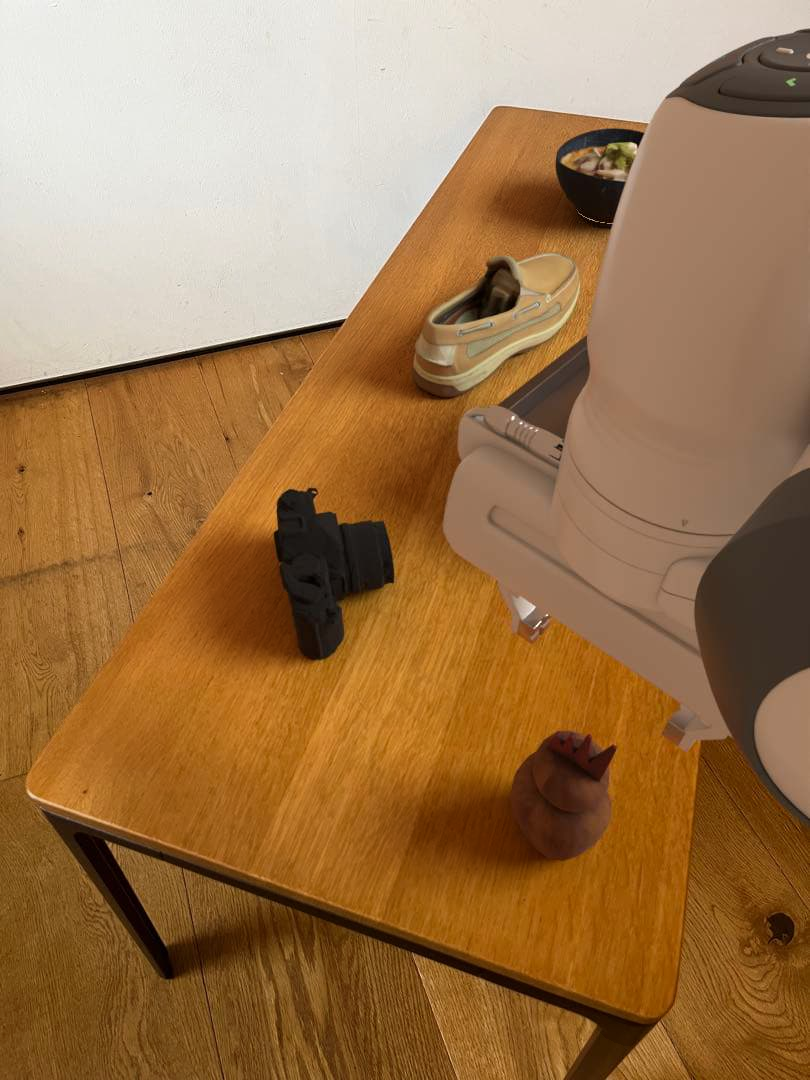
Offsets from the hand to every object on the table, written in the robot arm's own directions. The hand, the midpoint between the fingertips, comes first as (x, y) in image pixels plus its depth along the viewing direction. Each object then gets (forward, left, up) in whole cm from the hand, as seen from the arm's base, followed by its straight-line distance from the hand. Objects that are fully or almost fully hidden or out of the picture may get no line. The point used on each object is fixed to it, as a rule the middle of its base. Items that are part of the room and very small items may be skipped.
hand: (601, 679), depth 42 cm
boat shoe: (+39, -46, -21) cm, 63 cm away
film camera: (+27, -5, -21) cm, 34 cm away
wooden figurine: (0, 0, -21) cm, 21 cm away
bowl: (+47, -81, -21) cm, 96 cm away
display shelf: (+18, -30, -20) cm, 40 cm away
